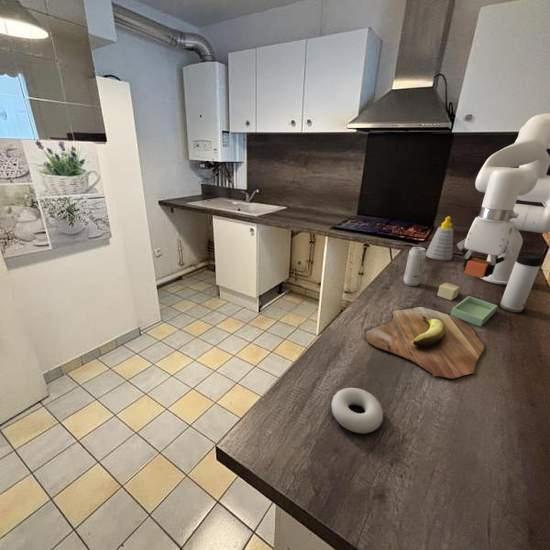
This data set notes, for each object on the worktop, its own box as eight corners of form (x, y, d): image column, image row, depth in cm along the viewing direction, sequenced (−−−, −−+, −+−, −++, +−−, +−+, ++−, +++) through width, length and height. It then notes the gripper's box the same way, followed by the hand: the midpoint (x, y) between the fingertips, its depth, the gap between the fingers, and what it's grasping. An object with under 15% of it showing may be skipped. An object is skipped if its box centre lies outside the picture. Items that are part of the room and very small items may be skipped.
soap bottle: (452, 255, 153) (463, 217, 145) (451, 262, 143) (462, 221, 135) (426, 251, 159) (435, 214, 151) (423, 257, 149) (433, 218, 141)
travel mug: (527, 313, 98) (550, 257, 90) (505, 311, 99) (526, 255, 91) (516, 305, 103) (537, 251, 95) (496, 303, 104) (515, 249, 97)
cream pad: (443, 291, 112) (445, 282, 111) (457, 296, 109) (459, 286, 107) (436, 295, 109) (439, 285, 107) (451, 300, 105) (453, 290, 104)
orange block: (470, 269, 94) (474, 257, 93) (488, 274, 91) (492, 262, 89) (464, 273, 91) (467, 261, 89) (482, 278, 87) (486, 266, 86)
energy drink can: (414, 287, 115) (423, 251, 109) (400, 283, 119) (407, 248, 113) (421, 283, 118) (429, 248, 113) (407, 279, 123) (414, 245, 117)
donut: (369, 395, 63) (325, 396, 62) (372, 383, 62) (326, 384, 61) (390, 436, 54) (338, 439, 53) (394, 423, 53) (340, 425, 52)
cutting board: (465, 393, 64) (470, 380, 63) (354, 341, 81) (356, 330, 80) (493, 330, 88) (497, 319, 86) (402, 300, 105) (404, 290, 103)
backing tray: (466, 302, 104) (468, 295, 103) (495, 312, 98) (497, 305, 97) (450, 315, 96) (452, 308, 95) (480, 326, 90) (483, 319, 89)
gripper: (535, 218, 80) (513, 278, 87) (467, 208, 92) (452, 262, 99) (528, 221, 75) (505, 285, 82) (457, 211, 87) (442, 267, 94)
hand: (476, 272), depth 91 cm, fingers closed on orange block, 5 cm apart
